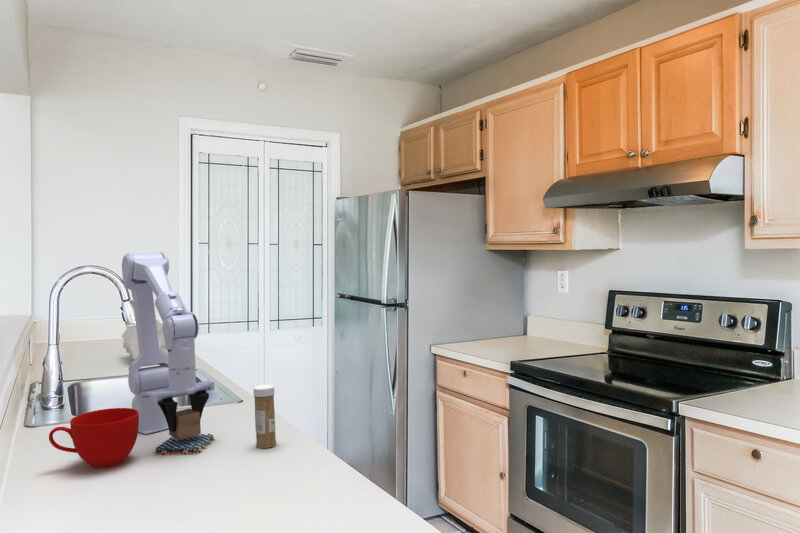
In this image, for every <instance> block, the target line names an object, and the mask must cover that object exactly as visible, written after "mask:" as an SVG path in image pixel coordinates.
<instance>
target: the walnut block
mask: <svg viewBox="0 0 800 533" xmlns="http://www.w3.org/2000/svg"><path fill="white" fill-rule="evenodd" d="M201 434H202V430H201V420H200V412H198V411H195V410H192V409H191V407H189V408H185V409H180V410H177V411H176V431H174V432H172V431H170V430H169V429H168V435H169V437H175V438H177V439H179V440H180V439H184V438H188V437H191V436H195V435H201Z"/></svg>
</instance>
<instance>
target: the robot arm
mask: <svg viewBox="0 0 800 533" xmlns="http://www.w3.org/2000/svg"><path fill="white" fill-rule="evenodd" d="M169 269H170V262H169V258H168V256H167V254H166V253H165V252H163V251H162V252H157V253H156V252H153V253H152V252H150V253H149V252H148V253H147V252H146V253H129V252H128V253H125V254H124V255H123V257H122V262H121V272H122V281H123V284H124V288H125V289H128V290H130V291H131V296H132V303H133V304H132V305H133V310H134V311H133V312H134V321H136V330H137V339H138V347H139V356H138V357H137V358H135V359H133V360H132V361H131V362H130V363H129V365H128V377H127V382H128V388H129V390H130V392H131V393H132V394H133V395H134V397H133V398H132V401H131V409H135V410H137V411H138V413H139V427H138V433H140V434H143V435H149V434H153V433H157V432H161V431H165V430H168V431H169V430H170V431H172V432H174V431H176V411H178V410H177V409H178V404H179V402H178V401H175V398H178V397H185V396H188V398H189V403H190V409H192V410H195V411H198V412H200V421H201V419H202V416H203V415H202V414H203V412H204V408H205V407H206V404H207V401H208V400H209V398H210V393H209V392H208V391H215V381H213V380H208V381H207V380H206V381H199V382H197V375H196V374H197V373H196V372H197V369H196V348H195V347H196V345H195V344H196V343H195V339H196V338H197V337H198V335H199V330H200V329H199V321H198V318H197V316H196V313H194V312H191V310H187V308H186V306H185V304H184V302H183V300H182V298H181V296H180V294H179V293H178V292H176V291H173V290H172V287H171V284H170V281H169V278H168V273H169ZM154 295H155V297H156V298H155V299H154ZM154 300H155V301H154ZM155 307H156V309H155ZM156 310H157V312H158V315H159V316H160V318H161V321H162V324H163V327H162V330H163V335H164V339H165V346H166V348H167V349H168V357H167V356H165V355H163V354H161V353H160V349H159V341H158V332H157V324H156V320H157V319H156V318H157V317H156ZM147 366H149V367H147Z"/></svg>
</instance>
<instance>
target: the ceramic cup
mask: <svg viewBox="0 0 800 533" xmlns="http://www.w3.org/2000/svg"><path fill="white" fill-rule="evenodd" d="M69 423H70V424H69V425H70V428H69V427H67V426H56V427H54V428H53V429H52V430H50V432H49V433H48V441H49V443H50V444H51V445H52V447H53V448H55V449H57V450H59V451H63V452H68V453H74V454H75V453H76V454H77V455H78V456H79V457H80V459H82V461H83V462H85V463H86V464H87V465H88V466H89V467H90V468H92V469H108V468H112V467H116V466H119V465H120V464H122V463H124V462H125V460H126V458H128V456H129V455H130V454H131V452H132V450H133V449H134V446H135V444H136V442H137V439H138V434H139V432H138V427H139V413H138V411H137V410H135V409H132V407H114V408H105V409H104V408H103V409H97V410H93V411H92V410H91V411H87V412H84V413H81V414H78V415H75V416H74V417H73V418H70V422H69ZM59 431H64V432H66V433H67V434H68V435H69V436H70V439H71V440H72V444H73V447H66V446H63V445H60V444H59V443H57V442H56V440H54V433H55V432H59Z"/></svg>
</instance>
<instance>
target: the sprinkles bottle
mask: <svg viewBox="0 0 800 533" xmlns="http://www.w3.org/2000/svg"><path fill="white" fill-rule="evenodd" d="M274 396H275V385H272V384H260V385H256V386H254V387H253V397H254V422H255V423H254V424H255V426H254V427H255V438H256V443H255V446H256V448H259V449H269V448H273V447H275V446H276V445H277V441H276V439H277V438H276V417H275V416H276V415H275V397H274Z"/></svg>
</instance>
